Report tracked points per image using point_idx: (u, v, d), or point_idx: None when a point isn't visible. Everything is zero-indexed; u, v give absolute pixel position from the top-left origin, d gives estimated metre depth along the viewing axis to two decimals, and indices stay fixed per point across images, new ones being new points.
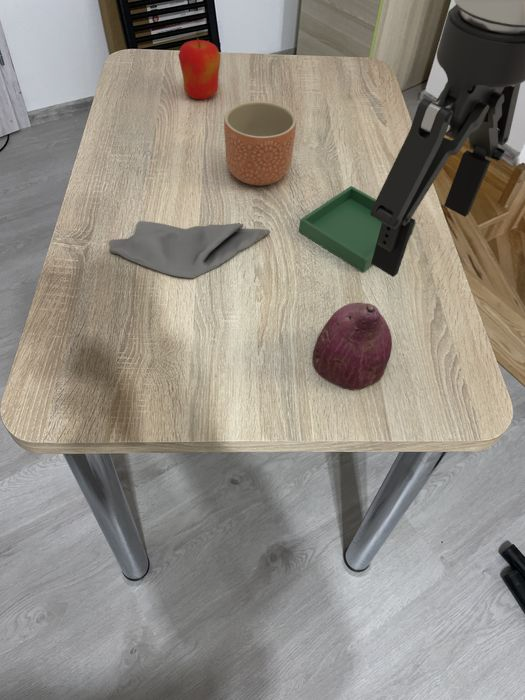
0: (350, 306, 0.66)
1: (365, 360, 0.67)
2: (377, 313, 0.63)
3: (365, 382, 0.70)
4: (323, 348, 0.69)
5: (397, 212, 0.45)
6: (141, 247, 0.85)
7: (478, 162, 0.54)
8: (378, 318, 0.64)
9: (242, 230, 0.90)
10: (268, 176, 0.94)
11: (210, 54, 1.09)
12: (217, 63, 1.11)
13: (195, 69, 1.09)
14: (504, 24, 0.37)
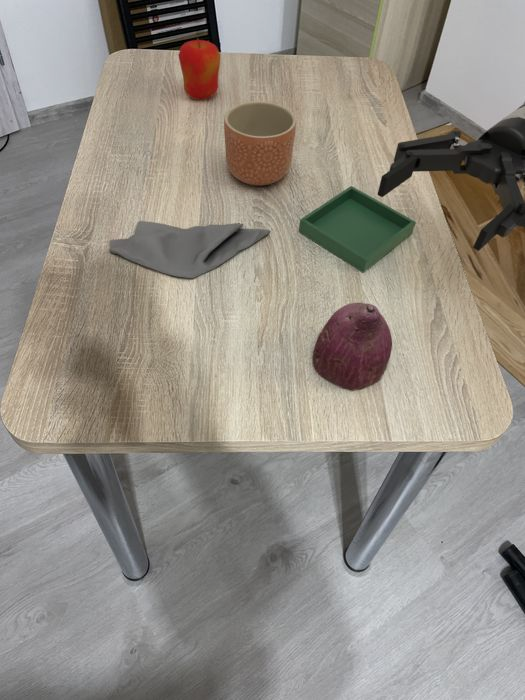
0: (350, 306, 0.66)
1: (365, 360, 0.67)
2: (377, 313, 0.63)
3: (365, 382, 0.70)
4: (323, 348, 0.69)
5: None
6: (141, 247, 0.85)
7: None
8: (378, 318, 0.64)
9: (242, 230, 0.90)
10: (268, 176, 0.94)
11: (210, 54, 1.09)
12: (217, 63, 1.11)
13: (195, 69, 1.09)
14: None
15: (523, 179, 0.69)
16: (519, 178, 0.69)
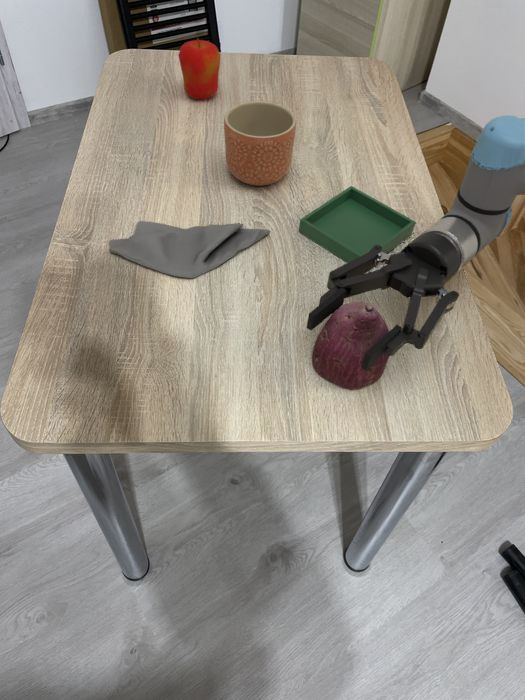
0: (349, 305, 0.66)
1: None
2: (376, 313, 0.63)
3: (364, 382, 0.70)
4: (322, 348, 0.69)
5: None
6: (141, 247, 0.85)
7: None
8: (377, 318, 0.64)
9: (242, 230, 0.90)
10: (268, 176, 0.94)
11: (210, 54, 1.09)
12: (217, 63, 1.11)
13: (195, 69, 1.09)
14: (423, 232, 0.77)
15: (438, 295, 0.72)
16: (436, 293, 0.72)
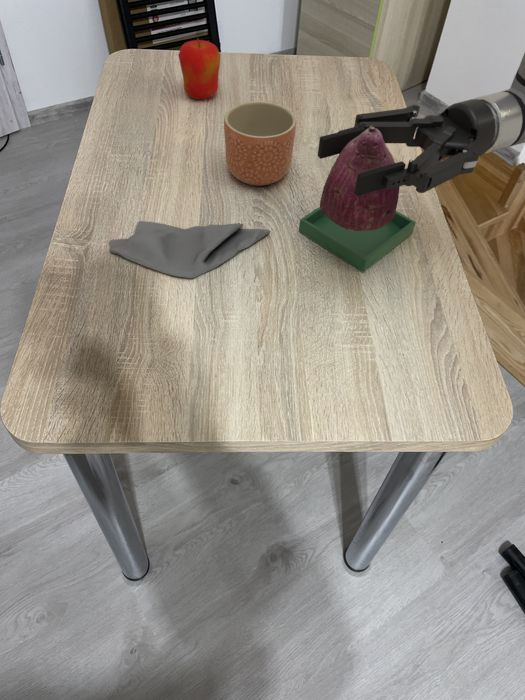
0: None
1: None
2: (378, 136, 0.64)
3: (361, 223, 0.71)
4: (328, 179, 0.71)
5: None
6: (141, 247, 0.85)
7: None
8: (379, 143, 0.64)
9: (242, 230, 0.90)
10: (268, 176, 0.94)
11: (210, 54, 1.09)
12: (217, 63, 1.11)
13: (195, 69, 1.09)
14: None
15: None
16: None
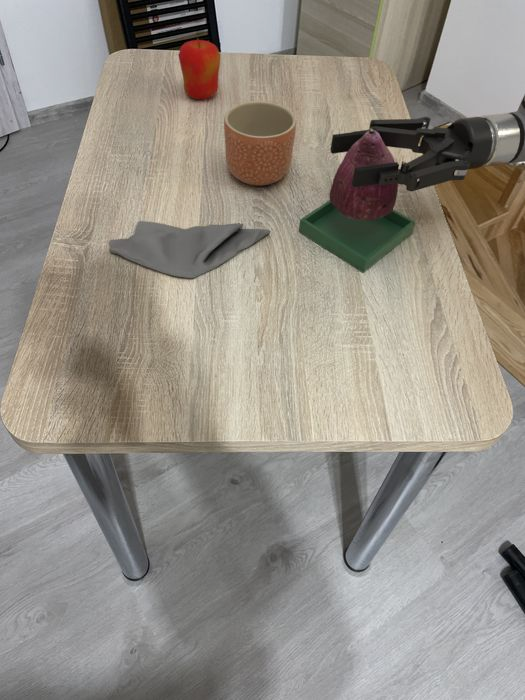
0: None
1: None
2: (377, 138, 0.75)
3: (359, 212, 0.82)
4: (336, 172, 0.83)
5: None
6: (141, 247, 0.85)
7: None
8: (377, 144, 0.75)
9: (242, 230, 0.90)
10: (268, 176, 0.94)
11: (210, 54, 1.09)
12: (217, 63, 1.11)
13: (195, 69, 1.09)
14: None
15: None
16: None
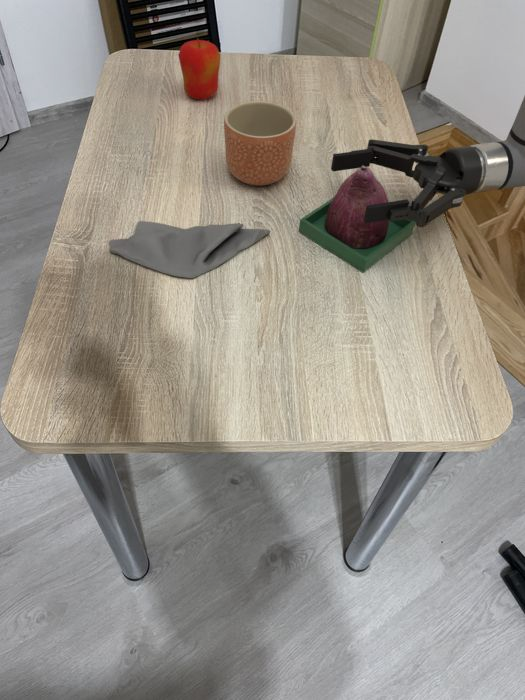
0: None
1: (353, 217, 0.83)
2: (368, 174, 0.79)
3: (352, 242, 0.87)
4: (331, 203, 0.87)
5: None
6: (141, 247, 0.85)
7: None
8: (369, 180, 0.80)
9: (242, 230, 0.90)
10: (268, 176, 0.94)
11: (210, 54, 1.09)
12: (217, 63, 1.11)
13: (195, 69, 1.09)
14: None
15: None
16: (447, 192, 0.84)
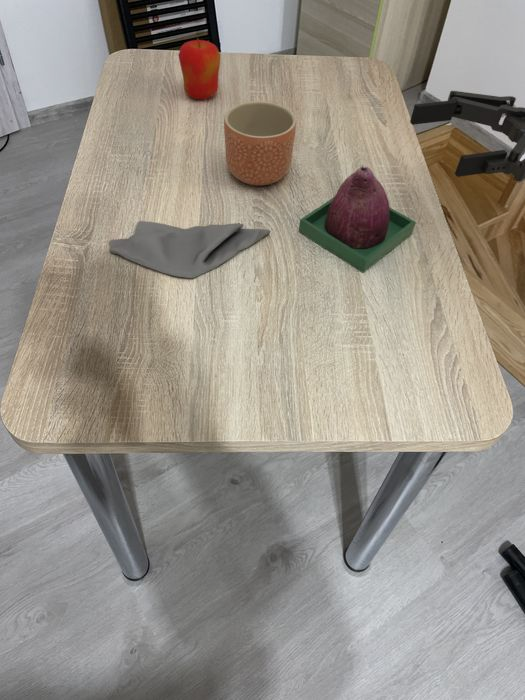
0: None
1: (353, 217, 0.83)
2: (368, 174, 0.79)
3: (352, 242, 0.87)
4: (331, 203, 0.87)
5: None
6: (141, 247, 0.85)
7: None
8: (369, 180, 0.80)
9: (242, 230, 0.90)
10: (268, 176, 0.94)
11: (210, 54, 1.09)
12: (217, 63, 1.11)
13: (195, 69, 1.09)
14: None
15: None
16: None
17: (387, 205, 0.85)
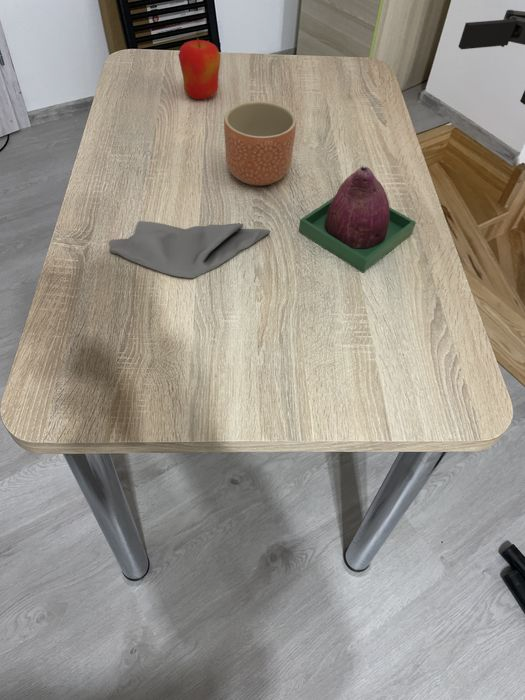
0: None
1: (353, 217, 0.83)
2: (368, 174, 0.79)
3: (352, 242, 0.87)
4: (331, 203, 0.87)
5: None
6: (141, 247, 0.85)
7: None
8: (369, 180, 0.80)
9: (242, 230, 0.90)
10: (268, 176, 0.94)
11: (210, 54, 1.09)
12: (217, 63, 1.11)
13: (195, 69, 1.09)
14: None
15: None
16: None
17: (387, 205, 0.85)
